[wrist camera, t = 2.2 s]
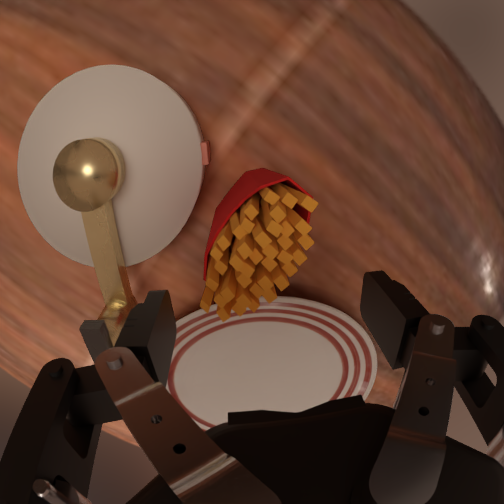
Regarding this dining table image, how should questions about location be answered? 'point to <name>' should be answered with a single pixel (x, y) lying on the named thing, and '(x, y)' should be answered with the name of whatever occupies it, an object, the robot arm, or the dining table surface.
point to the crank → (98, 229)
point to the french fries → (255, 241)
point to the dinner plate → (268, 360)
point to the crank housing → (132, 149)
